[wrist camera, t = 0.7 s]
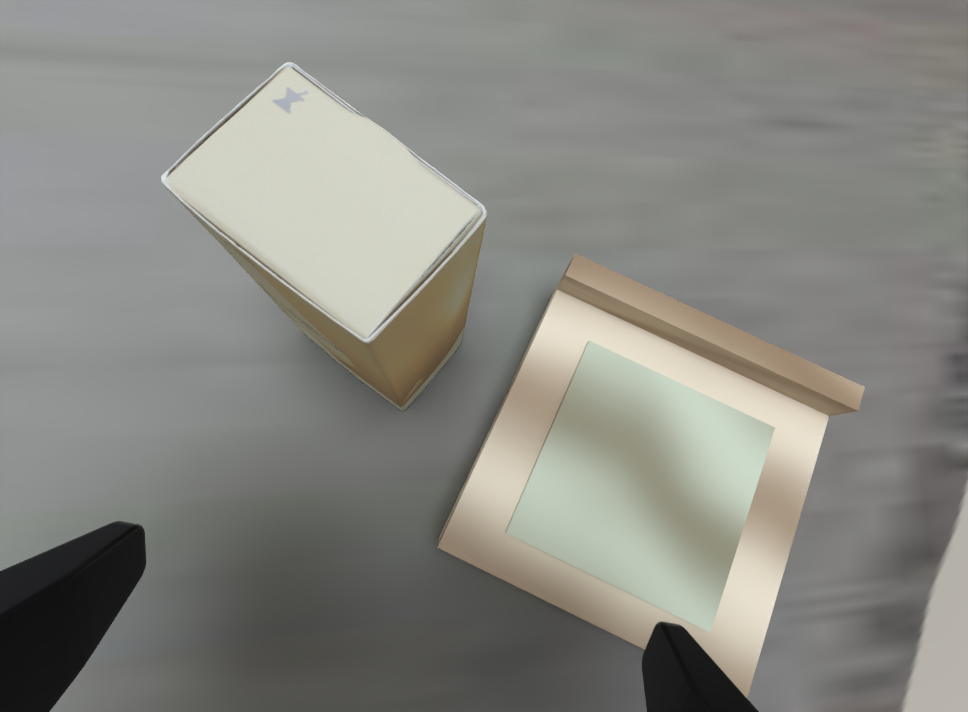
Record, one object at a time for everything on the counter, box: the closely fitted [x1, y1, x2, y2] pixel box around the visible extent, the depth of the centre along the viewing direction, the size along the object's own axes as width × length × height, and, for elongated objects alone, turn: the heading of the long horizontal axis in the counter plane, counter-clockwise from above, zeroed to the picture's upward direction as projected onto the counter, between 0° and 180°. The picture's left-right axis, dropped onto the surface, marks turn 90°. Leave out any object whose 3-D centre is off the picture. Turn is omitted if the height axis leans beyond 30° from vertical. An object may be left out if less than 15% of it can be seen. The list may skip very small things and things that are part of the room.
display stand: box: [437, 254, 865, 698], centre depth 20 cm, size 12×12×4 cm
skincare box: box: [161, 62, 487, 411], centre depth 17 cm, size 6×4×12 cm
